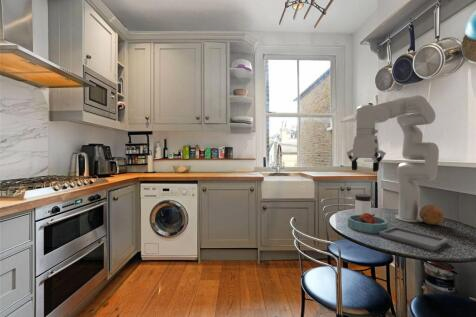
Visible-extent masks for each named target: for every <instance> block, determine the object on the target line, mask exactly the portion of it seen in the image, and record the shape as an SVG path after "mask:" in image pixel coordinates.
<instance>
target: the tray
mask: <svg viewBox="0 0 476 317" xmlns="http://www.w3.org/2000/svg"><path fill="white" fill-rule="evenodd" d="M378 234H379V235H378V236H379V237H381V238H385V239H388V240H392V241H395V242H398V243H400V244H406V245H409V246H413V247H416V248H419V249H422V250H427V251H430V252H432V253H433V252H436V251H438V250H439V249H441V248H443V247H445V246H446V245H449V239H448V238H445V237H442V236H441V237H440V236H436V235H432V234H427V233H424V232H420V231H415V230H411V229H408V228H407V229H406V228H402V227H398V226H392V227H389V228H387V229H386V230H383V231H380V232H379V233H378Z"/></svg>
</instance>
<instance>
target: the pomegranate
mask: <svg viewBox="0 0 476 317" xmlns="http://www.w3.org/2000/svg"><path fill="white" fill-rule="evenodd" d="M375 214H376V213H375ZM375 214H369V213H364V214H362V215H361V217H360V220H361V222H363V223H369V224H375V223H376V220H375V218H374V216H375Z"/></svg>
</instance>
